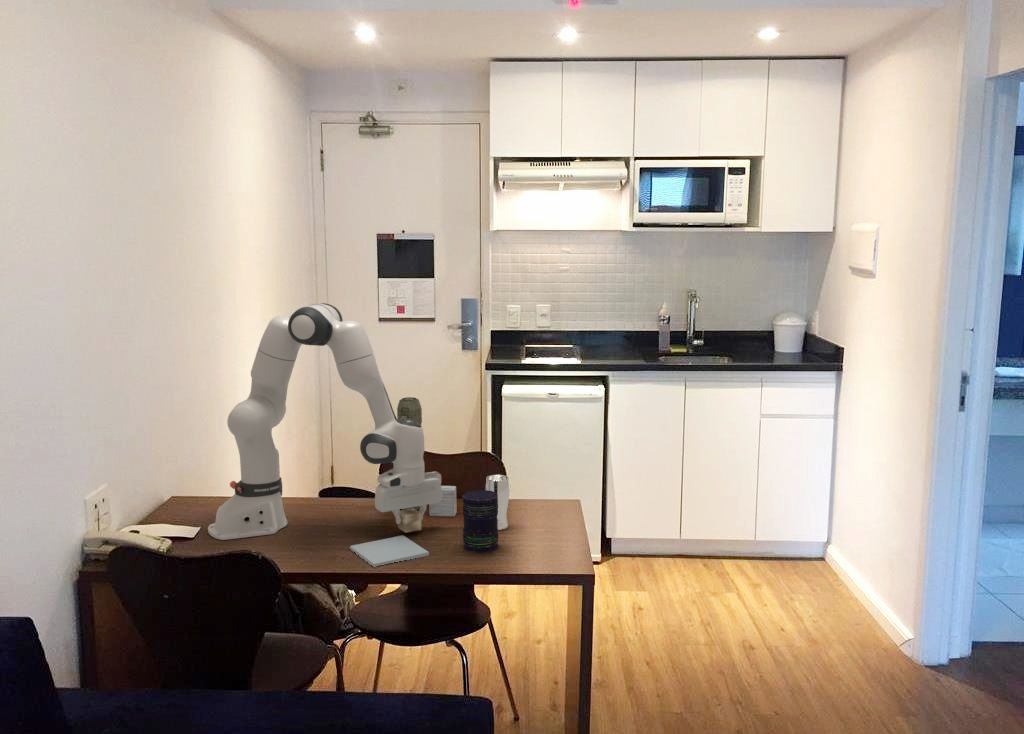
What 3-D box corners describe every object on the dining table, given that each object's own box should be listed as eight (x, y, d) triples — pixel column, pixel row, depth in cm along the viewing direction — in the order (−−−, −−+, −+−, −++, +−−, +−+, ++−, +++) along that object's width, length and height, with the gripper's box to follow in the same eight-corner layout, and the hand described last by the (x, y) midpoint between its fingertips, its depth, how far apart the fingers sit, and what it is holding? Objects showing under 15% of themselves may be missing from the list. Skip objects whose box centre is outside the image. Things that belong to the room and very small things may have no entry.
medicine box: (456, 512, 274) (456, 485, 273) (454, 517, 270) (454, 489, 269) (431, 512, 275) (431, 485, 274) (429, 516, 271) (428, 489, 270)
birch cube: (405, 532, 252) (405, 515, 251) (398, 527, 256) (397, 511, 256) (421, 529, 255) (421, 513, 254) (413, 524, 259) (413, 508, 258)
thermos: (392, 512, 275) (390, 402, 269) (402, 501, 286) (399, 395, 281) (420, 513, 274) (418, 402, 268) (428, 502, 285) (427, 395, 280)
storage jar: (462, 541, 249) (462, 490, 247) (497, 540, 249) (497, 489, 247) (462, 554, 239) (462, 500, 237) (499, 553, 240) (498, 500, 237)
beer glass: (488, 531, 257) (487, 481, 255) (483, 523, 264) (483, 475, 262) (511, 529, 258) (511, 480, 256) (506, 522, 265) (506, 473, 263)
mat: (374, 567, 229) (374, 564, 229) (350, 549, 243) (350, 545, 242) (428, 555, 238) (428, 552, 238) (402, 538, 251) (402, 535, 251)
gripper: (436, 467, 261) (436, 512, 263) (372, 477, 250) (372, 524, 252) (446, 472, 256) (446, 518, 258) (381, 482, 245) (382, 530, 247)
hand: (409, 521), depth 255 cm, fingers closed on birch cube, 5 cm apart
